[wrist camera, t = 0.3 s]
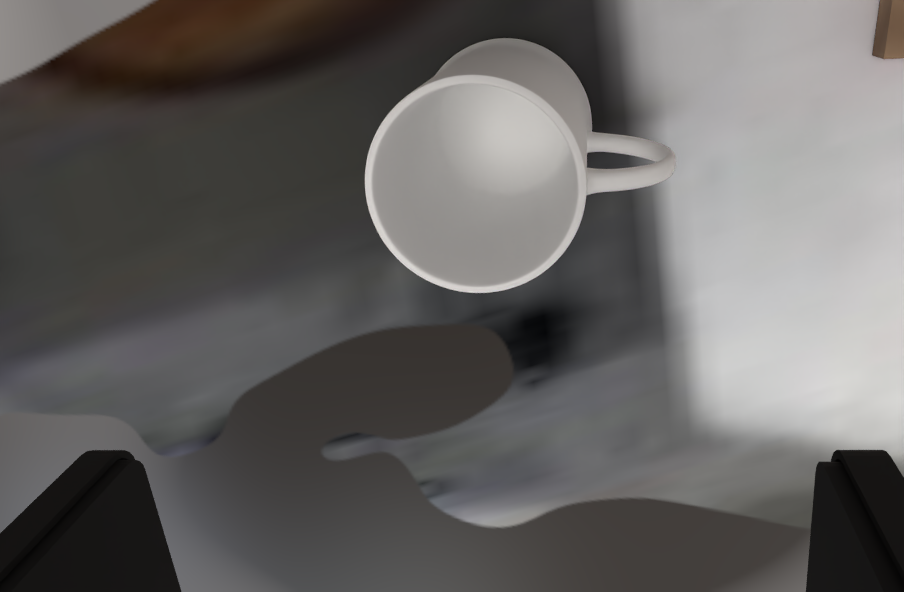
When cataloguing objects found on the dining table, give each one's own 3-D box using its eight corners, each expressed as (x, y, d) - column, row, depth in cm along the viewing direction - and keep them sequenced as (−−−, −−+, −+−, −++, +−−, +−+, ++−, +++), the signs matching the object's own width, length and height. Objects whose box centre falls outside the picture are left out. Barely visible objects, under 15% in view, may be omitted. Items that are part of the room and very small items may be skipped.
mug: (674, 53, 36) (712, 90, 25) (643, 227, 40) (664, 326, 29) (426, 29, 38) (360, 55, 27) (415, 200, 41) (354, 284, 30)
